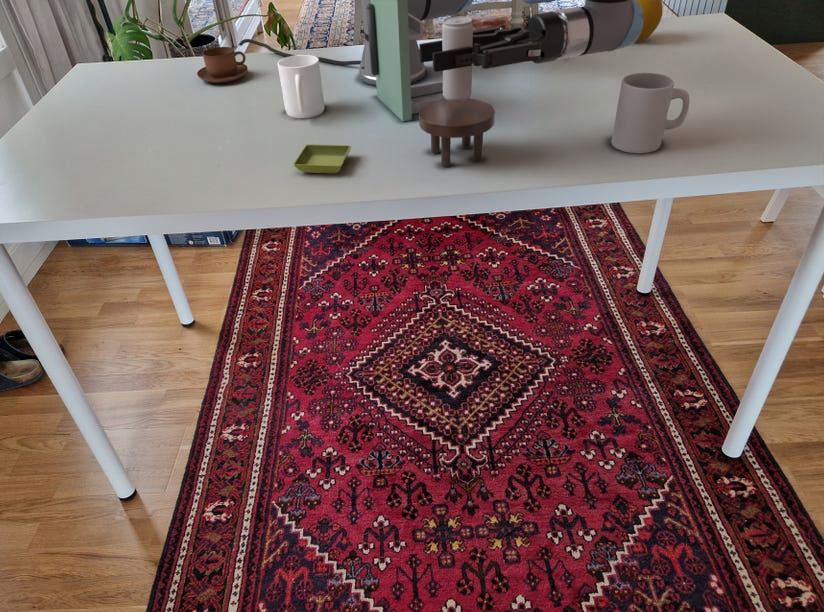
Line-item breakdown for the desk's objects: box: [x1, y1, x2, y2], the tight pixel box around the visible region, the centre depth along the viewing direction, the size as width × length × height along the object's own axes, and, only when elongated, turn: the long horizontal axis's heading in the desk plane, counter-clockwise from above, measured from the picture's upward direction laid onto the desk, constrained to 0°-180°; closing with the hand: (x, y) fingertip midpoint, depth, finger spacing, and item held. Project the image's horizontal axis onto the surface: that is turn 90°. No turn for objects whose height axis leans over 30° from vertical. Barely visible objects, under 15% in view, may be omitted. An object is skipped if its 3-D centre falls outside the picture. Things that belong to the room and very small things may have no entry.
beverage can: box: [441, 15, 474, 102], centre depth 104 cm, size 5×5×12 cm
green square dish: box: [293, 143, 352, 174], centre depth 114 cm, size 9×9×2 cm
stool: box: [418, 98, 496, 168], centre depth 112 cm, size 13×13×8 cm
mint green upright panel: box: [366, 0, 445, 123], centre depth 128 cm, size 16×16×22 cm
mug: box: [610, 72, 691, 154], centre depth 111 cm, size 12×8×11 cm
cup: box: [277, 54, 325, 119], centre depth 131 cm, size 8×12×10 cm
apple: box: [634, 0, 664, 43], centre depth 157 cm, size 10×10×12 cm
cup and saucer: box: [196, 46, 248, 84], centre depth 153 cm, size 12×12×6 cm
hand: (427, 57), depth 102 cm, fingers closed on beverage can, 5 cm apart
